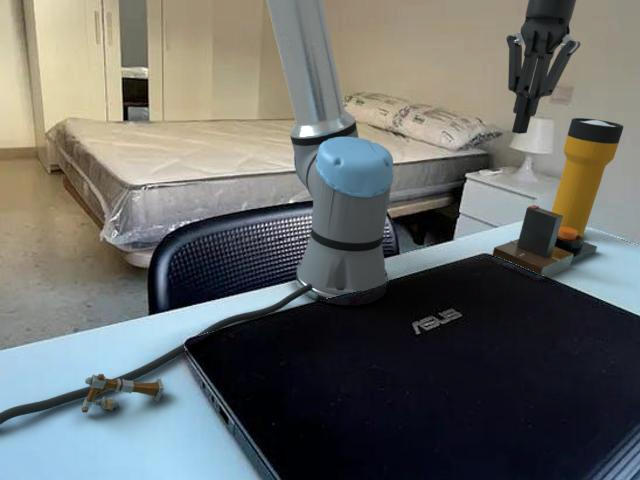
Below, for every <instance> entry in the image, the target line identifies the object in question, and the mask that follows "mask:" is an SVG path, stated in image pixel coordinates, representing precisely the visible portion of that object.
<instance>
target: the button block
mask: <svg viewBox="0 0 640 480" xmlns="http://www.w3.org/2000/svg"><path fill="white" fill-rule="evenodd" d="M554 247H557V248H559V249H562V250H565V251H567V252H570V253H572V254H574V255H573V258H572V261H571V264H570V266H572V265H573V264H575V263H578V262H580V261H583V260H584V259H586V258H589V257H592V256H593V255H595V254H596V252H597V249H598V246H597V245H594V244H592V243H590V242H586V241H585V239H584V237H581V236H579V235H578V234H577V237H576V240H568V239H564V238H561V237H559V236H557V239H556V242H555V246H554Z"/></svg>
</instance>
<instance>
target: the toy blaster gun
mask: <svg viewBox="0 0 640 480" xmlns="http://www.w3.org/2000/svg"><path fill="white" fill-rule="evenodd" d="M113 379H114V378H106V376H105V374H104V373H98V375H97V374H92V375H91V376H88V377H86V378H85V379H84V383H85V384H86V385H89V386H90V387H92V388H91V390H90V392H89V394H88V396H87V397H84V398H85V399H84V401H83V404H82V407H81V413H84V414H87V413H88V411H89V410H90V408H91V407H92V405H93V406H96V408H98V407H100V410H101V411H102V412H103V410H110V411H113V410H114V408H118V407H119V404H120V403H119V401H116V400H115V397H113V398H106V396H104V395H103V397H102V399H100V400H99V398H98V399H97V400H95V399H96V397H98V396H100V395H101V394H103V393H104V392H107V391H108V390H107V389H110V390H114V392H117V393H118V392H120V393H129V394H132V393H138V394H143V395H147V396H151V397H153V399H154V401H157V402H159V401H160V399H161V396H162V395H163V391H164V389H165V385H164V384H163V380H162V378H161V377H160V378H156V380H155V381H152V382H151V381H150V382H136V381H135V382H134V380H132V381H128V380H124V379H122V381H120V379H118V378H117V380H113ZM99 388H100V389H101V390H99V391H98V389H99ZM106 390H107V391H106ZM97 391H98V392H97ZM94 400H95V401H94Z"/></svg>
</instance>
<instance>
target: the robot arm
mask: <svg viewBox="0 0 640 480" xmlns="http://www.w3.org/2000/svg"><path fill="white" fill-rule="evenodd" d="M265 2H266V6H267V10H268V14H269V18H270V21H271V22H270V23H271V27H272V30H273V35H274V39H275V43H276V46H277V51H278V54H279V59H280V63H281V66H282V71H283V76H284V80H285V83H286V87H287V92H288V96H289V100H290V104H291V109H292V112H293V117H294V123H293V125H292V126H291V129H290V130H289V136H290V140H291V145H292V148H293V152H294V154H293V160H294V162H293V165H294V170H295V172H296V175H297V177H298V179H299V181H300V182H301V183H302V185H303V186H304V187H305V188H306V189H307V191H308V193H309V195H310V196H311V198H312V199H313V200H312V214H311V225H310V237H309V241H308V243H307V245H306V248H305V250H304V253H303V257H302V259H300V261H299V263H298V265H297V267H296V275H295V282H296V285H297V288H298V289H297V290H295V291H293V292H292V293H290V294H288V295H287V296H285V297H284V298H282V299H281V300H279V301H278V302H276V303H273V304H271V305H269V306H267V307H264V308H260V309H257V310H253V311H248V312H243V313H242V312H241V313H239V314H234V315H232V316H228V317H225V318H223V319H221V320H219V321H217V322H215V323H213V324H211V325H210V326H208V327H207V328H205V329H204V330H202V331H201V332H199V333H197V334H196V335H195V336H198V335H201V334H204V333H207V332H208V333H209V332H212V331H216V330H217V331H220V330H221V329H223V328H225V327H227V326H230V325H233V324H236V323H239V322H243V321H247V320H253V319H256V318H260V317H264V316H268V315H270V314H272V313H275V312H277V311H280V310H281V309H283V308H284V307H286V306H287V305H288V304H290V303H291V302H293V301H295V300H296V299H298V298H300V297H301V296H303V295H306V296H307V297H309V298H311V299H313V300H316V301H318V302H320V300H324V299H326V298H330V297H334V296H338V295H342V294H347V293H353V292H357V291H365V290H368V289H371V288H375V287H377V286H380V285H382V284H384V283H386V282H387V281H388V282H389V276H388V271H387V269H386V262H385V255H384V249H383V241H384V234H385V230H386V229H385V228H386V222H387V215H388V209H389V203H390V196H391V191H392V190H391V189H392V185H393V180H394V158H393V154H391V152H390V151H389V149H387V147H385V146H383V145H381V144H380V143H377V142H372V141H371V140H369V139H367V138H366V139H365V138H361V137H359V132H358V127H357V122H356V121H357V120H356V116H354V115H353V114H351V113H349V112H348V111H346V109H345V107H344V102H343V96H342V90H341V86H340V81H339V75H338V70H337V66H336V60H335V55H334V51H333V45H332V41H331V35H330V29H329V25H328V19H327V14H326V10H325V9H326V8H325V4H324V0H265ZM576 3H577V0H528V2H527V7H526V9H525V20H524V22H523V24H522V25H521V27H520V31H518V32H516V33H514V34H513V35H512V34H509V35H507V36H506V44H507V46H508V77H507V79H508V80H507V81H508V82H507V83H508V84H507V85H508V87H507V88H508V90H509V91H510V92H513V93H514V94H515V101H514V104H513V105H514V106H513V108H512V112H513V114H515V118H514V121H513V126H512V129H511V133H512V134H513V133H514V134H518V135H519V134H522V135H523V134H527V132H528V128H529V125H530V121H531V118H532V117H535V115H536V114H537V110H538V107H539V103H540V100H541V99H542V98H545V97H550V96H552V94H553V93H554V90H555V89H556V87H557V85H558V84H559V81H560V79H561V77H562V75H563V73H564V71H565V69H566V67H567V65H568V63H569V61H570V59H571V57H572V56H573V54H574V53H575V52H577V50H578V49H579V48H580V47H581V42H580V41H578V40H576V39H574V37H572V35H570V34H571V29H570V22H571V20H572V18H573V15H574V10H575V6H576ZM523 44H524V47H525V48H524V51H523V47H522V45H523ZM559 47H560V50H559V51H558V53H557V55H556V57H555V58H554V55H555V51H556V50H557V49H558V48H559ZM523 57H524V58H523ZM553 58H554V61H553V63H552V65H551V62H552V60H553ZM550 65H551V67H550ZM217 331H216V332H217ZM185 343H186V342H184V343H182V344H180V345H178V346H177V347H175V348H174V349H172V350H170V351H168V352H167V353H165V354H163V355H161V356H159V357H157V358H155V359H154V360H152V361H150V362H148V363H146V364H144V365H142V366H140V367H138V368H135V369H134V370H132V371H129V372H127V373H124V374H121V375H119V376H117V377H114V378H112V379H113V380H117V378H118V379H120V381H122V379H124V380H128V381H135V380H137V379H139V378H142V377H143V376H145V375H147V374H149V373H151V372H153V371H155V370H156V369H158V368H160V367H162V366H164V365H166V364H167V363H169V362H171V361H172V360H174V359H176V358H177V357H179V356H181V355H183V354H184V353H186V352H187V351H185V348H184V344H185ZM91 388H92V387H90V385H88V386H86V387H83V388H79V389H75V390H72V391H69V392H66V393H63V394H59V395H56V396H53V397H50V398H47V399H43V400H40V401H34V402H30V403H23V404H20V405H17V406H12V407H9V408H7V409H4V410H2V411H1V412H0V426H1V425H2V424H3V423H5V422H8V421H9V420H11V419H14V418H18V417H20V416H24V415H30V414H34V413H40V412H44V411H47V410H50V409H54V408H57V407H60V406H62V405H65V404H69V403H72V402H74V401H77V400H81V399H84V398H86V397H87V396H88V394H89V392H90V390H91ZM99 390H101V389H100V388H99V389H98V391H99ZM110 390H111V389H107V390H106V391H105V392H107V391H110ZM98 391H97V392H98Z"/></svg>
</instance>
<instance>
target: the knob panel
mask: <svg viewBox="0 0 640 480" xmlns="http://www.w3.org/2000/svg"><path fill="white" fill-rule="evenodd" d="M518 240H519V238H516V239H514V240H510V241H509V242H505V243H503V244H500V245H497V246H494V247H493V250H492V255H493V256H496V257H500V258H502V259H505V260H507V261H510V262H512V263H514V264H517V265H519V266H522V267H524V268H526V269H529V270H531V271H534V272H536V273H538V274H540V275H544V276H545V277H547V278H546V279H548V278H550V277H553V276H555V275H557V274H559V273H561V272H564V271H566V270H567V269H570V267H571V265H572V264H571V261H572V258H573V255H574V254H572V253H570V252H567V251H565V250H562V249H559V248H557V247H554V249H553V252H552V255H550V256H548V257H543V256H541V255H538V254H536V253H533V252H531V251H529V250H526V249H524V248H521V247H519V246H517V244H518ZM570 264H571V265H570Z"/></svg>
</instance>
